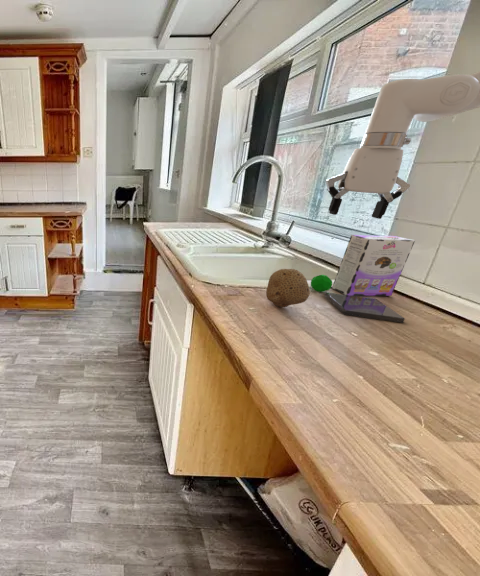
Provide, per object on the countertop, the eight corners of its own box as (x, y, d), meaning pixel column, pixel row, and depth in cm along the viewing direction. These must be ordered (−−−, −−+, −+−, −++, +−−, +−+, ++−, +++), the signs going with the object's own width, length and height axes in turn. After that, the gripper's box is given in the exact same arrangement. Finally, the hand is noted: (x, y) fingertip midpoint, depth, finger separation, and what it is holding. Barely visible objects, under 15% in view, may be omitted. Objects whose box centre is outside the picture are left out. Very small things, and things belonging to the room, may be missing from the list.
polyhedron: (306, 286, 92) (311, 271, 90) (326, 289, 90) (331, 274, 88) (310, 292, 87) (316, 276, 85) (331, 295, 86) (336, 279, 84)
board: (374, 302, 82) (376, 298, 82) (403, 323, 71) (405, 318, 71) (324, 296, 85) (325, 292, 84) (344, 314, 74) (346, 310, 74)
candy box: (373, 289, 93) (395, 235, 86) (391, 296, 87) (417, 240, 81) (330, 288, 91) (350, 233, 85) (346, 295, 86) (369, 238, 80)
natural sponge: (307, 309, 76) (320, 271, 72) (296, 319, 71) (309, 278, 67) (269, 297, 82) (279, 261, 79) (256, 305, 77) (266, 267, 73)
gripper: (415, 145, 73) (385, 217, 80) (333, 142, 78) (311, 210, 84) (437, 143, 67) (403, 221, 73) (346, 139, 71) (321, 214, 77)
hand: (354, 215), depth 79 cm, fingers open, 9 cm apart
